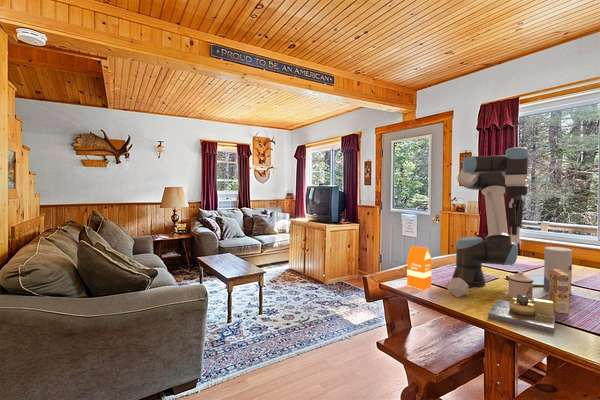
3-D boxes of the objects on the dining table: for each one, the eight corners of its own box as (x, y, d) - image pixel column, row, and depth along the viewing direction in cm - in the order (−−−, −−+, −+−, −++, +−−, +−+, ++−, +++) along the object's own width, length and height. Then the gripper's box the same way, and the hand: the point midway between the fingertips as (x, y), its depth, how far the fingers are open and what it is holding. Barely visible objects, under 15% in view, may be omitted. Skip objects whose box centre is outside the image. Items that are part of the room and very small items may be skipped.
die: (456, 292, 147) (444, 276, 147) (474, 287, 142) (461, 270, 142) (454, 303, 141) (441, 287, 141) (472, 298, 135) (459, 281, 135)
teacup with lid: (531, 303, 131) (532, 276, 130) (506, 298, 137) (506, 272, 136) (534, 296, 139) (535, 270, 139) (510, 291, 146) (511, 267, 145)
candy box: (569, 314, 119) (570, 275, 119) (556, 312, 121) (556, 274, 120) (559, 306, 128) (560, 269, 127) (547, 304, 129) (548, 268, 129)
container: (576, 294, 141) (577, 250, 140) (551, 293, 143) (552, 250, 142) (562, 287, 151) (563, 246, 150) (539, 286, 153) (540, 246, 152)
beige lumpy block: (511, 312, 116) (511, 299, 115) (508, 305, 123) (508, 293, 122) (555, 319, 109) (555, 305, 109) (549, 311, 116) (550, 298, 116)
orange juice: (423, 290, 148) (424, 249, 147) (406, 286, 155) (406, 246, 154) (431, 287, 153) (431, 247, 152) (414, 283, 160) (414, 244, 159)
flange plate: (488, 318, 116) (488, 297, 116) (497, 303, 131) (497, 284, 130) (553, 333, 104) (554, 310, 104) (555, 315, 118) (556, 294, 118)
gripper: (521, 185, 120) (520, 245, 121) (531, 185, 128) (530, 241, 129) (499, 185, 126) (498, 243, 127) (511, 185, 134) (510, 239, 135)
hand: (515, 242), depth 128 cm, fingers closed
